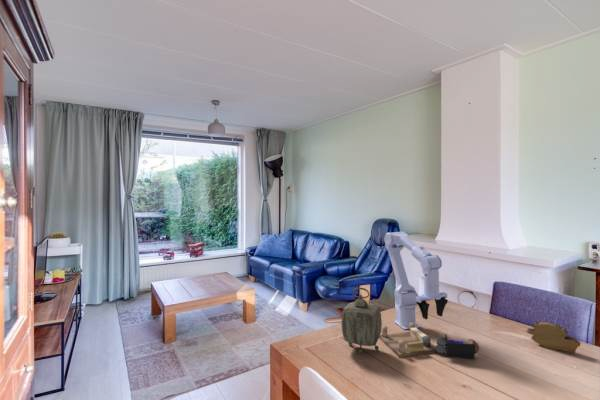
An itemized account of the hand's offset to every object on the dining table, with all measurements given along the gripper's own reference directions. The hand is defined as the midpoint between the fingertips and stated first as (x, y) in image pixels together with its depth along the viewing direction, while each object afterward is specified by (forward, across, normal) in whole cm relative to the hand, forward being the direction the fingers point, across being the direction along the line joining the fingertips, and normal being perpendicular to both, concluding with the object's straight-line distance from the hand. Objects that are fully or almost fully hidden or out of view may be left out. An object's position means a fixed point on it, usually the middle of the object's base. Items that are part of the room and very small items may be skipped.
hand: (432, 317), depth 132 cm
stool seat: (+10, -12, +2) cm, 15 cm away
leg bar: (+9, -6, 0) cm, 11 cm away
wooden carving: (+10, +37, -23) cm, 45 cm away
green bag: (+10, -32, +4) cm, 33 cm away
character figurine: (+10, -1, -13) cm, 17 cm away
